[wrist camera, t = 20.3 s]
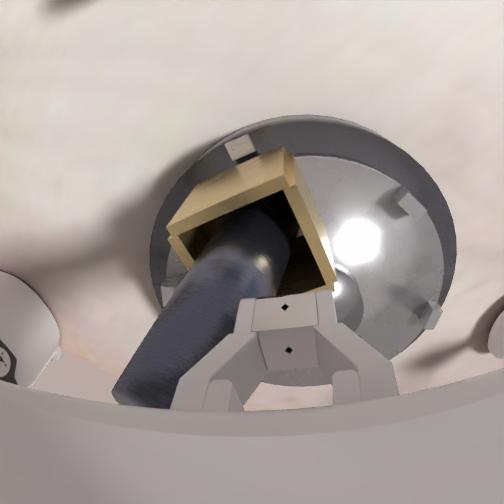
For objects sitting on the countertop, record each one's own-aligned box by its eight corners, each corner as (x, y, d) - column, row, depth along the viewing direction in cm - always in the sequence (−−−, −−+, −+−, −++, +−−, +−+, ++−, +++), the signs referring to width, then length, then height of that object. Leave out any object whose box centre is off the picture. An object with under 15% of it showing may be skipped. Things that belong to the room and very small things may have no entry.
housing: (240, 375, 38) (235, 404, 34) (115, 193, 27) (90, 214, 23) (447, 315, 31) (461, 343, 27) (398, 71, 19) (422, 72, 16)
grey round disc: (446, 334, 27) (470, 392, 20) (247, 392, 33) (239, 450, 27) (396, 97, 17) (451, 112, 11) (117, 223, 24) (68, 277, 17)
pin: (313, 227, 20) (240, 454, 9) (257, 240, 22) (159, 435, 11) (288, 170, 18) (169, 397, 7) (230, 189, 20) (92, 381, 9)
